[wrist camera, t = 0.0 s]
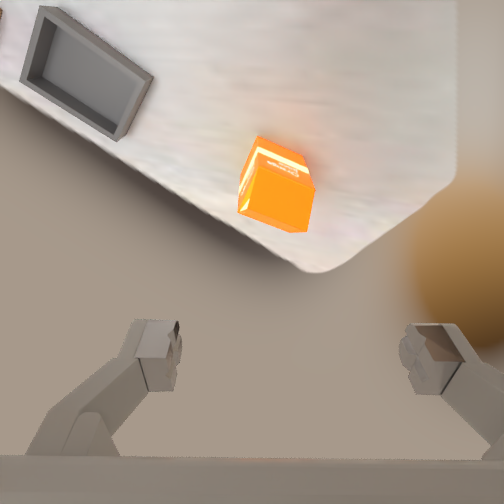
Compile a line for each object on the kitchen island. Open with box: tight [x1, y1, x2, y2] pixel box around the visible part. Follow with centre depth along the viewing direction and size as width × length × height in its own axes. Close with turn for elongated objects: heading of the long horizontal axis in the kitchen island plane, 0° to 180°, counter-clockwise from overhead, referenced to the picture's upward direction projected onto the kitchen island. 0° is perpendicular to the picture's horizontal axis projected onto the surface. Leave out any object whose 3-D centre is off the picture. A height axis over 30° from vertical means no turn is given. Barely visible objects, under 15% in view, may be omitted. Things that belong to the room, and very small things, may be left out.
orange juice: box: [238, 136, 316, 233], centre depth 49 cm, size 8×9×20 cm
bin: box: [19, 6, 153, 142], centre depth 47 cm, size 15×11×4 cm
